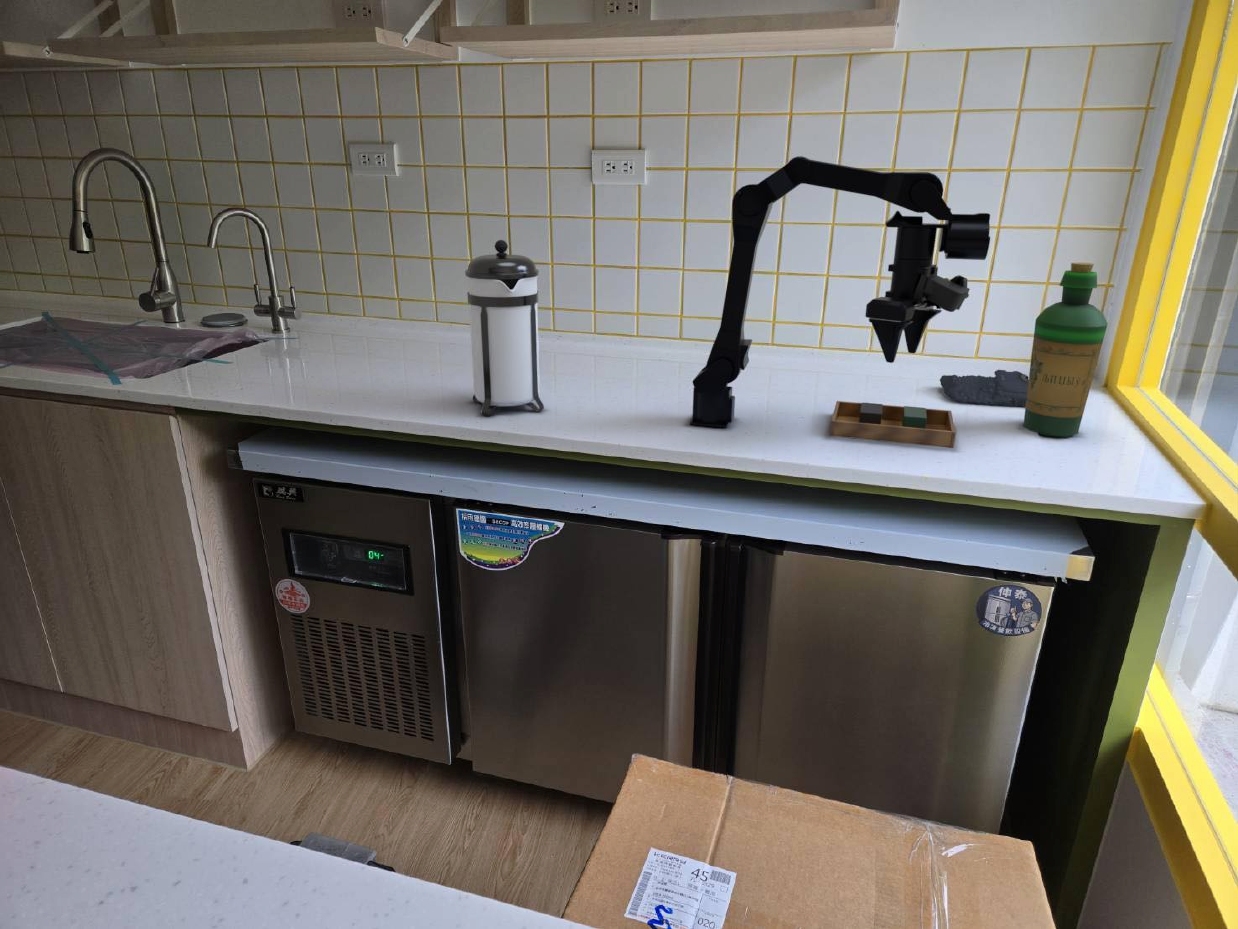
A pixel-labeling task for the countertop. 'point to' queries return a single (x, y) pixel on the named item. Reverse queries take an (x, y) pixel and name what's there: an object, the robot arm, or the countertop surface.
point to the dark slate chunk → (988, 389)
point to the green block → (914, 417)
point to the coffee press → (504, 330)
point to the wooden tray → (893, 426)
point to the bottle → (1064, 356)
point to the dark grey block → (870, 413)
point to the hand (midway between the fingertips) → (901, 357)
